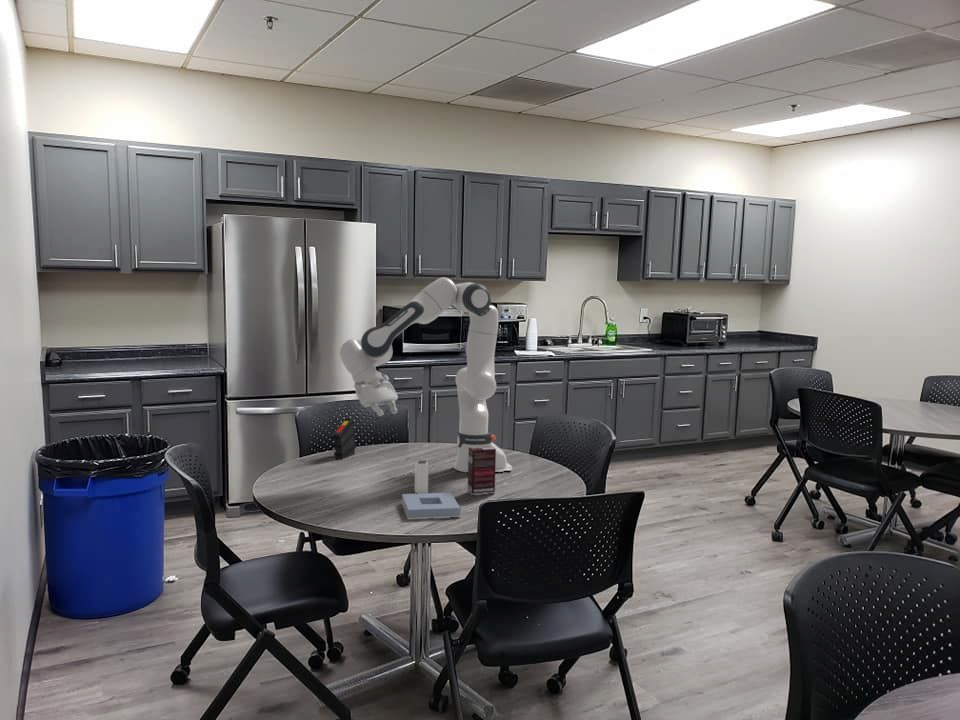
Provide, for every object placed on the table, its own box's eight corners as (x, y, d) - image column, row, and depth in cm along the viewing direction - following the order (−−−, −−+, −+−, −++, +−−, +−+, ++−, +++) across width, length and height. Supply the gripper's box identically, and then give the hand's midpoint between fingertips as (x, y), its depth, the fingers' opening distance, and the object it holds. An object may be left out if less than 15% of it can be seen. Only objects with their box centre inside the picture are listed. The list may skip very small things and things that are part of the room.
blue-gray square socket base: (450, 501, 235) (450, 492, 235) (460, 517, 220) (460, 507, 219) (401, 503, 232) (402, 494, 231) (408, 519, 216) (408, 509, 216)
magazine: (359, 448, 296) (352, 418, 289) (344, 468, 286) (337, 438, 278) (351, 447, 298) (344, 417, 290) (336, 467, 287) (328, 437, 279)
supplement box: (489, 490, 249) (491, 445, 248) (495, 494, 245) (496, 448, 243) (466, 492, 246) (468, 446, 245) (471, 496, 242) (472, 450, 240)
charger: (425, 489, 247) (426, 459, 246) (427, 493, 244) (428, 462, 242) (414, 490, 247) (415, 459, 245) (416, 493, 243) (416, 462, 241)
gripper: (359, 377, 242) (379, 411, 239) (389, 375, 261) (409, 406, 258) (346, 387, 244) (366, 421, 241) (377, 385, 263) (396, 416, 260)
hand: (388, 414), depth 249 cm, fingers open, 8 cm apart
